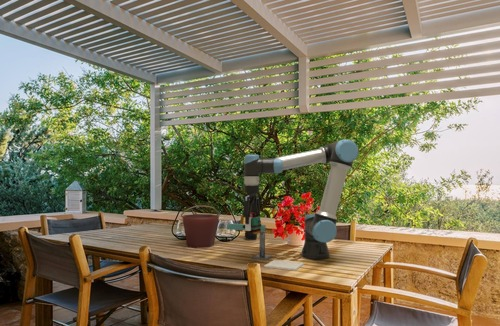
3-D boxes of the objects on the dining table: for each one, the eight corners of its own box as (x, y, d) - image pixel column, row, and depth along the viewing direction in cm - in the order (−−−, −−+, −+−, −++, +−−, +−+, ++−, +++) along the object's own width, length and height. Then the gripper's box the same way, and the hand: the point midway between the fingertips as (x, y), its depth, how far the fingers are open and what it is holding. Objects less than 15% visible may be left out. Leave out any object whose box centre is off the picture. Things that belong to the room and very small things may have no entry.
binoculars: (245, 212, 208) (262, 211, 204) (246, 233, 207) (264, 232, 204) (238, 214, 200) (256, 213, 196) (240, 235, 199) (258, 234, 195)
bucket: (222, 243, 259) (222, 204, 259) (216, 249, 237) (216, 207, 237) (185, 242, 261) (185, 204, 262) (176, 248, 239) (176, 207, 240)
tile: (304, 264, 199) (304, 262, 199) (295, 270, 186) (295, 268, 186) (274, 261, 206) (274, 259, 206) (264, 267, 193) (264, 265, 193)
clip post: (271, 257, 216) (271, 231, 216) (266, 260, 209) (266, 233, 209) (258, 255, 219) (258, 230, 219) (252, 258, 212) (252, 232, 212)
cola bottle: (242, 239, 272) (242, 195, 272) (249, 237, 279) (249, 195, 279) (252, 240, 267) (252, 196, 268) (259, 239, 274) (259, 195, 275)
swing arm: (266, 230, 215) (266, 224, 215) (264, 231, 212) (264, 225, 212) (228, 228, 222) (228, 223, 222) (226, 229, 218) (226, 224, 219)
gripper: (249, 185, 191) (249, 232, 190) (266, 184, 210) (266, 227, 210) (235, 185, 194) (235, 231, 193) (253, 184, 213) (253, 226, 213)
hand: (251, 229), depth 202 cm, fingers closed on binoculars, 9 cm apart
